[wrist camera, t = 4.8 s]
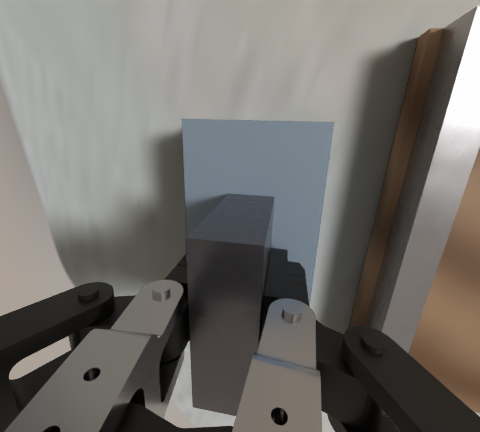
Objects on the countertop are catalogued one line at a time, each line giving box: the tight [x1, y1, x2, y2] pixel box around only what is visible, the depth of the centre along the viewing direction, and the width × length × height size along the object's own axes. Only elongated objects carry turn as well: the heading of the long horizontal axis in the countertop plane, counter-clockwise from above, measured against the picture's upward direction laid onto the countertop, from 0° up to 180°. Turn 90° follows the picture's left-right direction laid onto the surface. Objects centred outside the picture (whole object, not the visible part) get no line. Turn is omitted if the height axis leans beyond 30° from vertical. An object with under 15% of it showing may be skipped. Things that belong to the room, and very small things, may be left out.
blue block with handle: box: [182, 119, 334, 416], centre depth 12 cm, size 12×6×9 cm, turn 179°
